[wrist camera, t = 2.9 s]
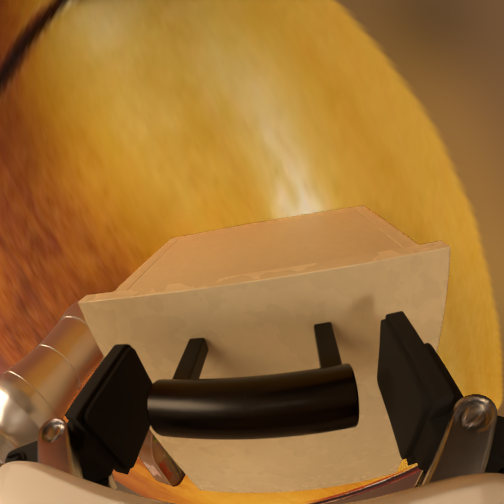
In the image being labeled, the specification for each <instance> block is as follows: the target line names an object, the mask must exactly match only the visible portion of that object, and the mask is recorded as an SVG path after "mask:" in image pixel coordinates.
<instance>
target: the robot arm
mask: <svg viewBox="0 0 504 504" xmlns="http://www.w3.org/2000/svg"><path fill="white" fill-rule="evenodd" d="M377 383H378V387H379V390H380V392H381V395H382V398H383V401H384V404H385V407H386V411H387V414H388V417H389V420H390V423H391V426H392V430H393V433H394V436H395V439H396V443H397V446H398V450H399V453H400V456H401V458H402V459H407V462H408V466H409V465H412V464H415V463H417V464H418V467H419V469H421V470H422V472H421V474H420V476H419V478H418V480H417V482H416V484H415V486H414V488H411V489H407V490H404V491H400V492H396V493H392V494H389V495H384V496H380V497H376V498H372V499H367V500H362V501H357V502H351V503H345V504H504V417H501V416H497V409H496V406H495V404H494V403H493V402H492V400H491V399H489V398H488V397H486V396H483V395H480V394H472V395H468V396H465V397H463V395H462V394H461V392H460V390H459V388H458V387H457V385H456V383H455V382H454V380H453V378H452V377H451V375H450V373H449V372H448V370H447V368H446V367H445V365H444V364H443V362H442V360H441V359H440V357H439V356H438V354H437V352H436V351H435V349H434V348H433V346H432V345H431V344H430V343H425V344H424V343H423V341H422V339H421V338H420V336H419V335H418V333H417V332H416V330H415V329H414V327H413V326H412V324H411V323H410V321H409V320H408V318H407V317H406V315H405V314H404V312H403V311H399V312H395V313H390V314H387V315H386V317H385V319H383V320H381V324H380V344H379V358H378V370H377ZM152 384H153V383H152V381H151V379H150V378H149V376H148V374H147V372H146V370H145V368H144V366H143V364H142V362H141V360H140V358H139V356H138V354H137V352H136V350H135V349H134V348H132V347H131V346H130V345H129V344H116V345H114V346H113V348H112V349H111V350H110V352H109V353H108V354H107V356H106V357H105V358H104V360H103V361H102V362H101V364H100V365H99V367H98V368H97V369H96V371H95V372H94V373H93V375H92V376H91V378H90V379H89V380H88V382H87V383H86V385H85V386H84V387H83V389H82V390H81V392H80V393H79V395H78V396H77V398H76V399H75V400H74V402H73V403H72V405H71V406H70V408H69V409H68V411H67V412H66V414H65V416H66V417H67V419H68V420H69V421H68V423H66V422H65V420H63V419H61V418H52V419H50V420H48V421H46V422H45V423H44V424H43V425H42V426H41V427H40V429H39V431H38V440H37V441H34V442H32V443H29V444H27V445H24V446H21V447H19V448H16V449H14V450H12V451H10V452H9V453H8V454H7V456H6V460H5V464H4V463H2V464H1V465H0V504H175V503H170V502H164V501H159V500H154V499H150V498H145V497H141V496H137V495H133V494H129V493H126V492H122V491H119V490H117V487H116V484H115V480H114V477H113V474H112V471H113V469H114V470H115V471H116V472H120V473H124V474H128V473H129V470H130V468H132V467H133V466H134V465H135V462H136V460H137V457H138V455H139V452H140V450H141V448H142V445H143V443H144V440H145V438H146V436H147V433H148V431H149V428H150V426H151V425H150V423H149V420H148V415H147V397H148V393H149V390H150V388H151V386H152Z"/></svg>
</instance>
